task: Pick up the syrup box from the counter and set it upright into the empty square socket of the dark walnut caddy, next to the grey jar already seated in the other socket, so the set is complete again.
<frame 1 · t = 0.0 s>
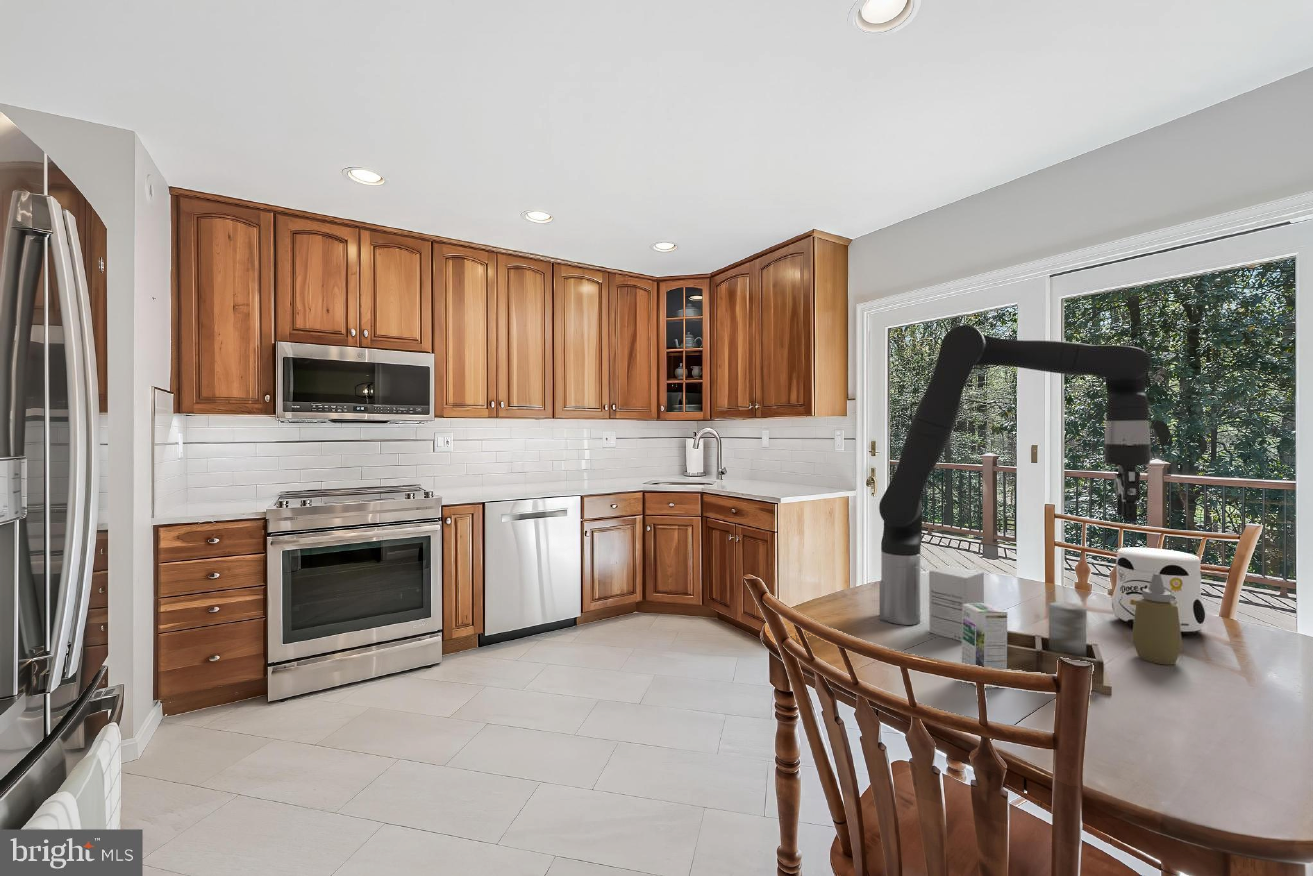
hand: (1126, 518, 124), 29 cm above the table, tool pointing down, fingers open, 8 cm apart
syrup box: (983, 683, 111), on the table
squeeze bottle: (1156, 660, 122), on the table
supplement box: (956, 634, 138), on the table
walnut caddy: (1038, 670, 117), on the table
milk container: (1156, 628, 141), on the table
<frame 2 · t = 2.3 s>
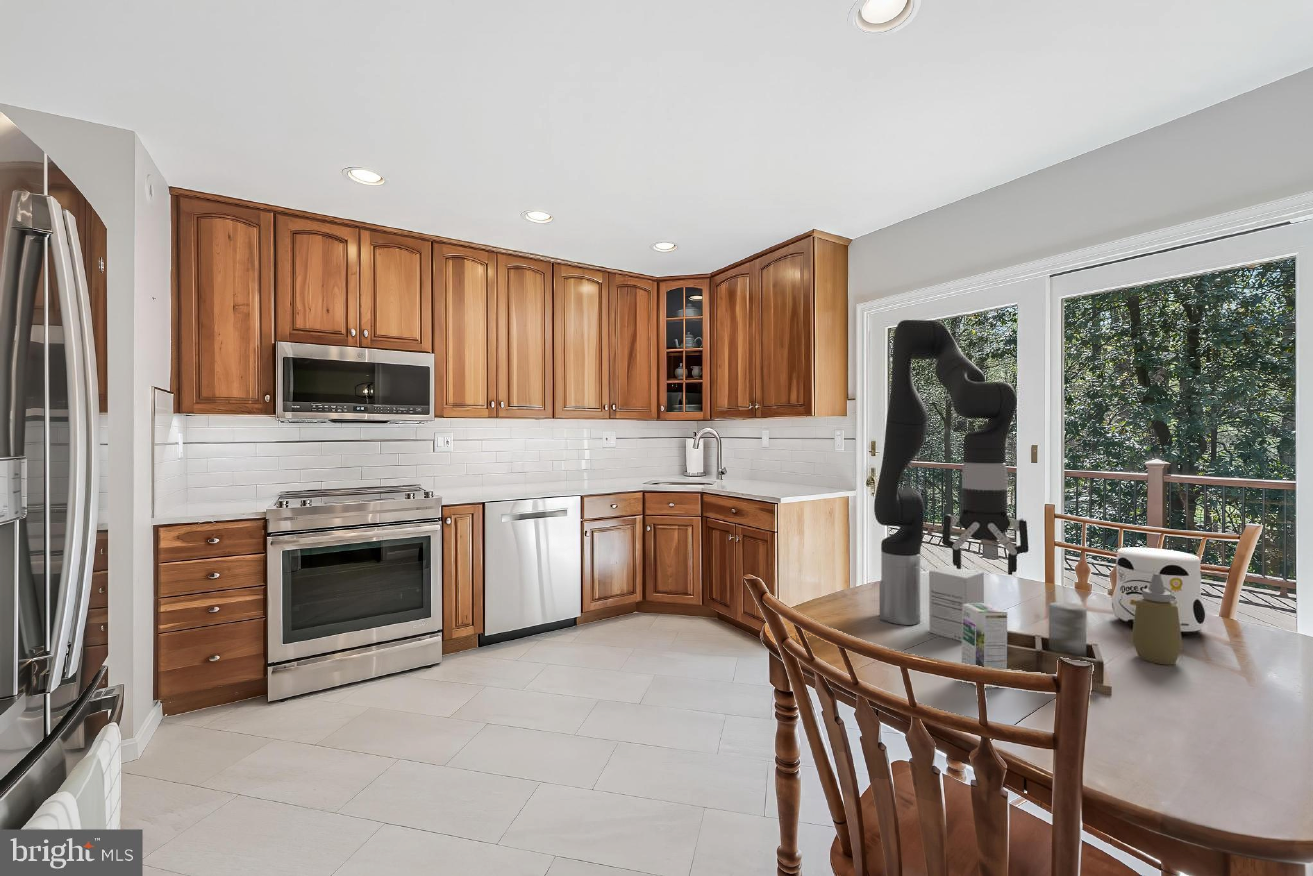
hand: (984, 571, 111), 21 cm above the table, tool pointing down, fingers open, 8 cm apart
nothing on the table moved.
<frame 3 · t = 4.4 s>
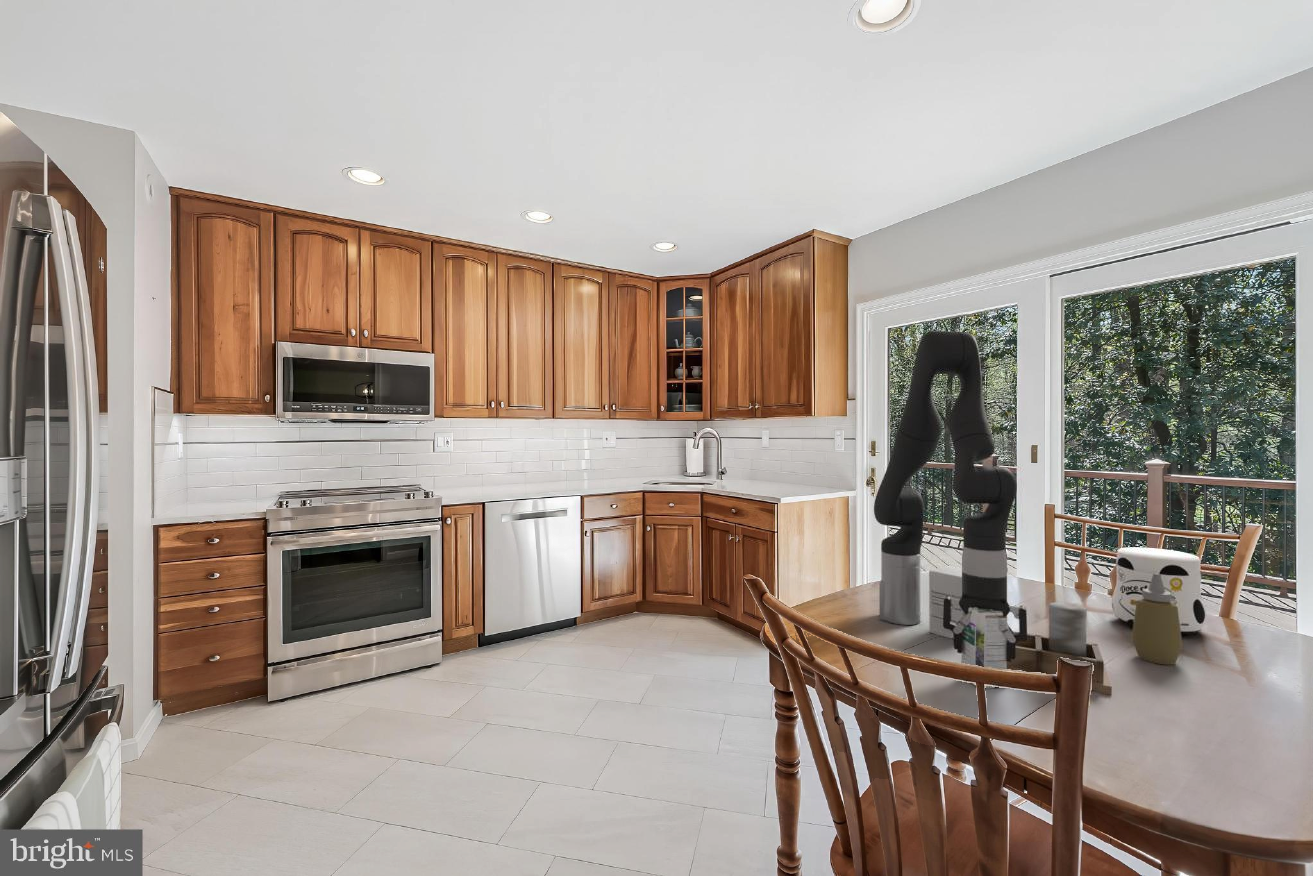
hand: (984, 656, 111), 5 cm above the table, tool pointing down, fingers closed on syrup box, 7 cm apart
syrup box: (983, 683, 111), on the table, touching gripper
everything else where it was.
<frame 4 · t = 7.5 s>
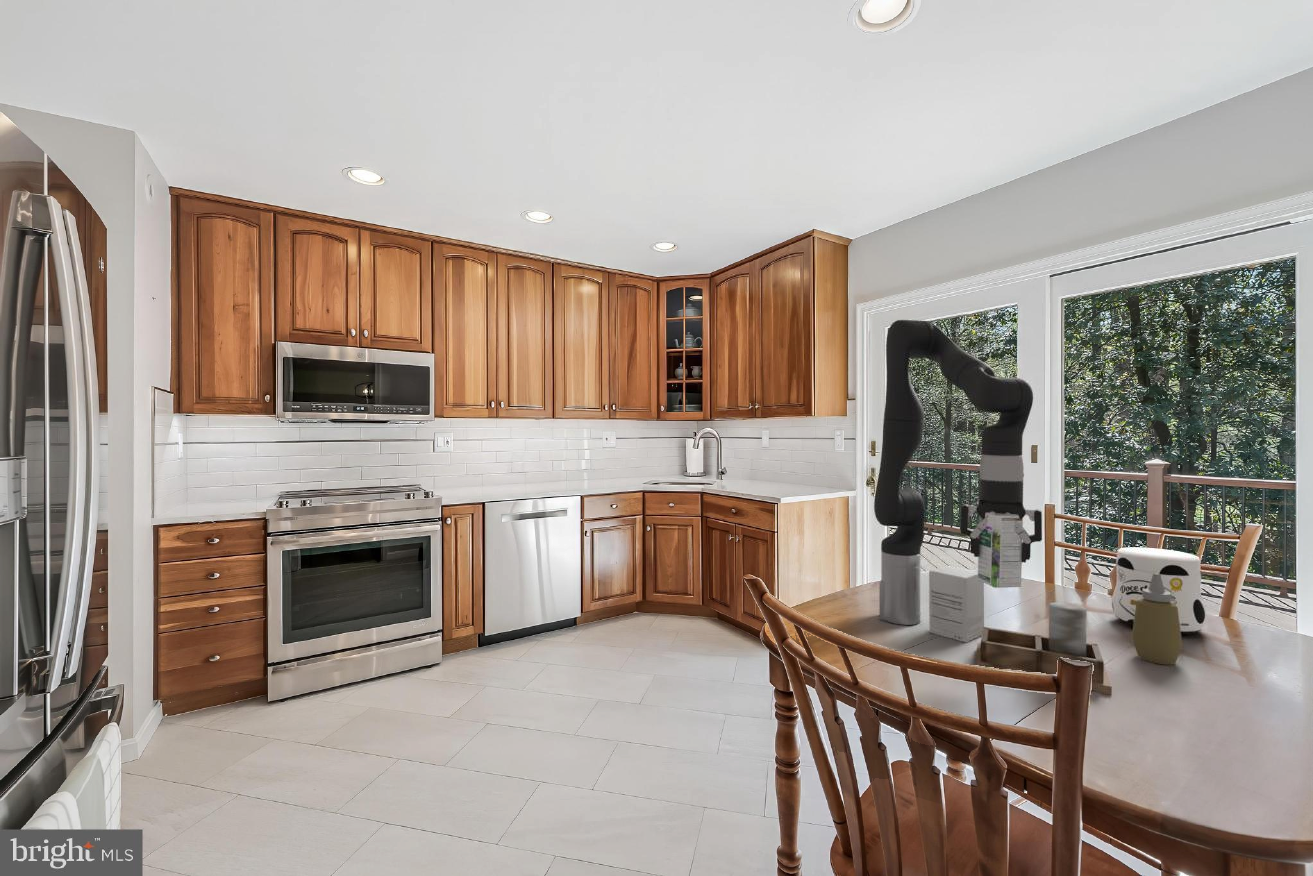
hand: (999, 558, 116), 22 cm above the table, tool pointing down, fingers closed on syrup box, 7 cm apart
syrup box: (999, 584, 117), point 17 cm above the table, touching gripper
everything else where it was.
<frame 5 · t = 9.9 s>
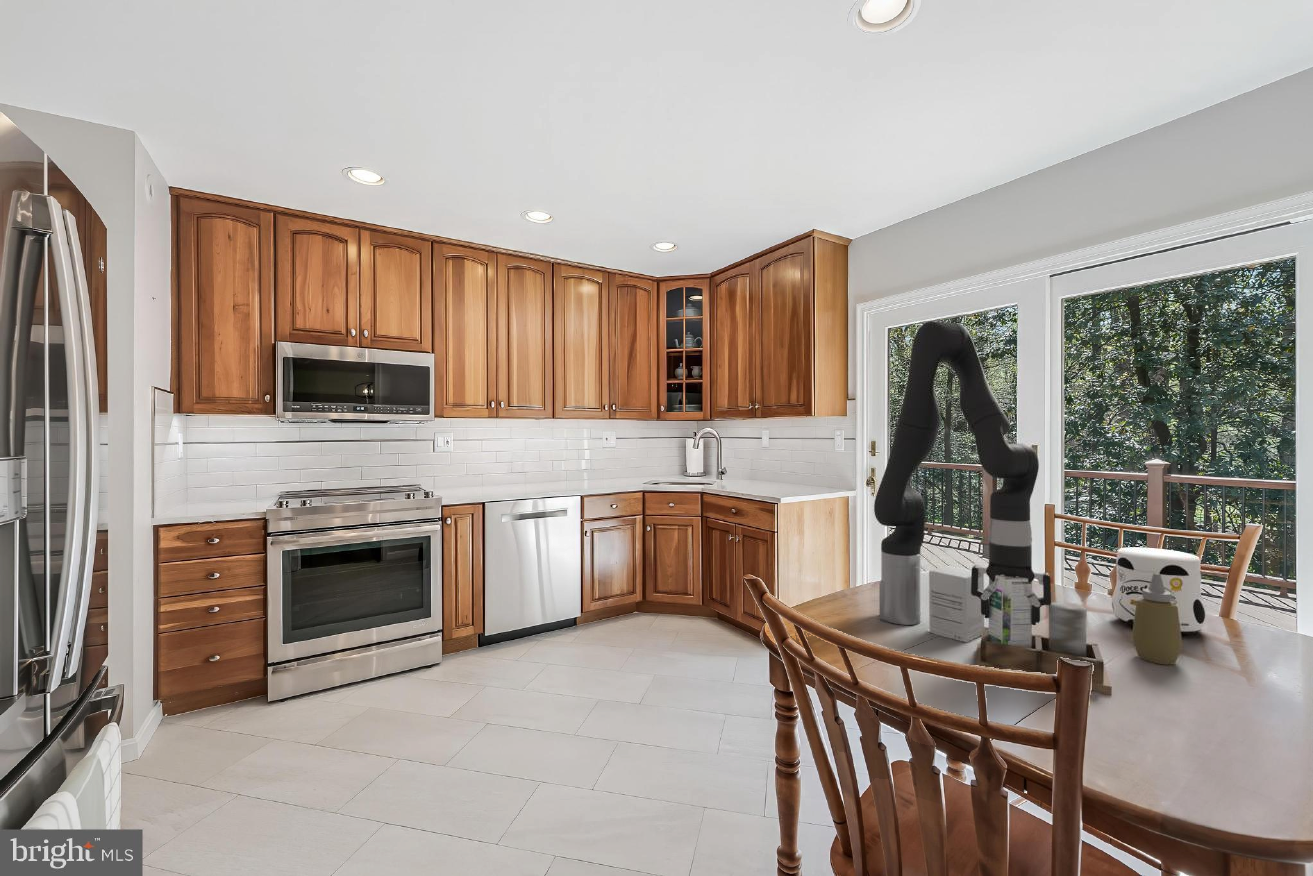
hand: (1009, 620, 119), 9 cm above the table, tool pointing down, fingers closed on syrup box, 7 cm apart
syrup box: (1009, 646, 119), point 4 cm above the table, touching gripper
everything else where it was.
when the fingers open (9 cm above the table, at t = 10.7 s): syrup box drops 2 cm, resting on walnut caddy.
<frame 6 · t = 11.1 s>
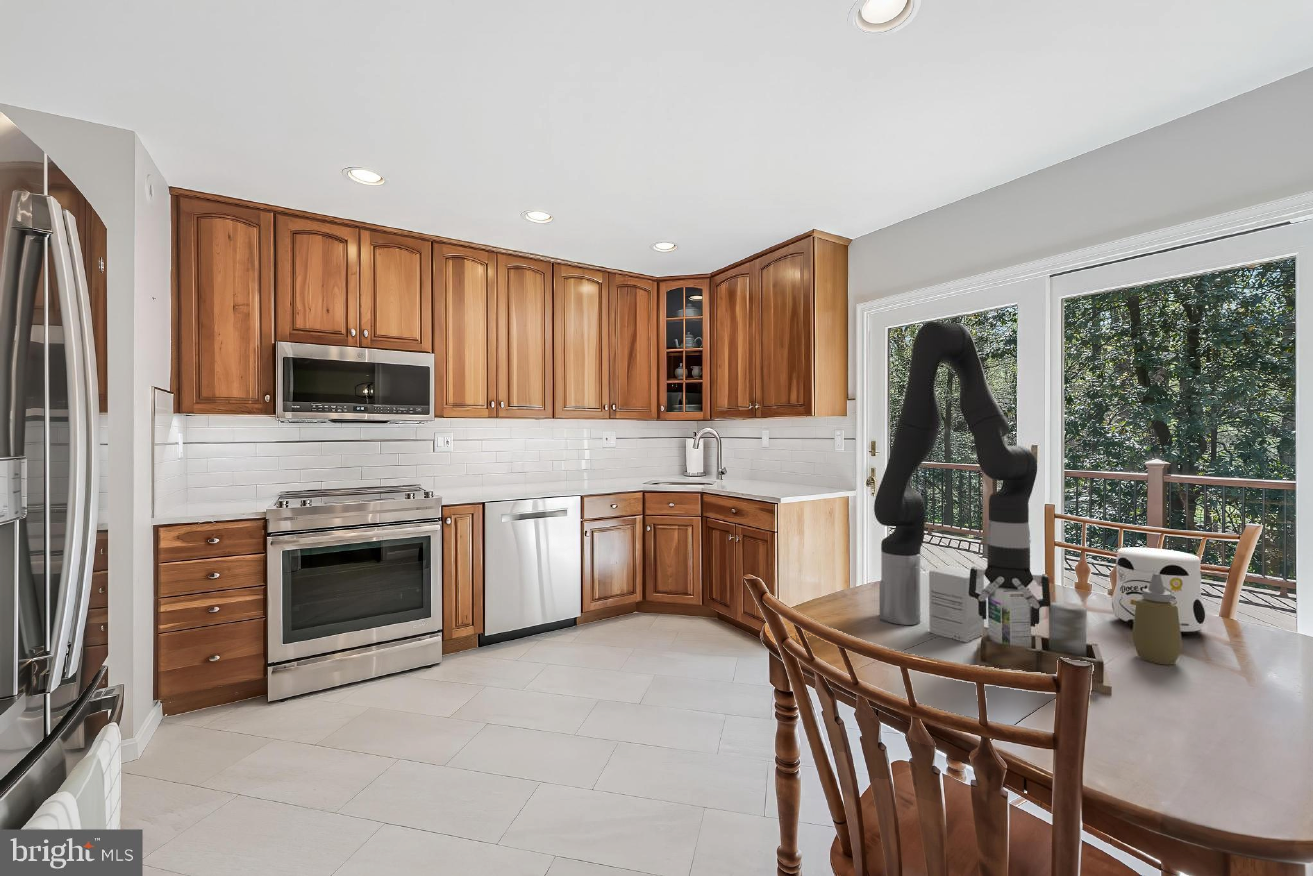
hand: (1008, 622, 119), 9 cm above the table, tool pointing down, fingers open, 8 cm apart
syrup box: (1010, 658, 119), point 1 cm above the table, touching gripper, walnut caddy
everything else where it was.
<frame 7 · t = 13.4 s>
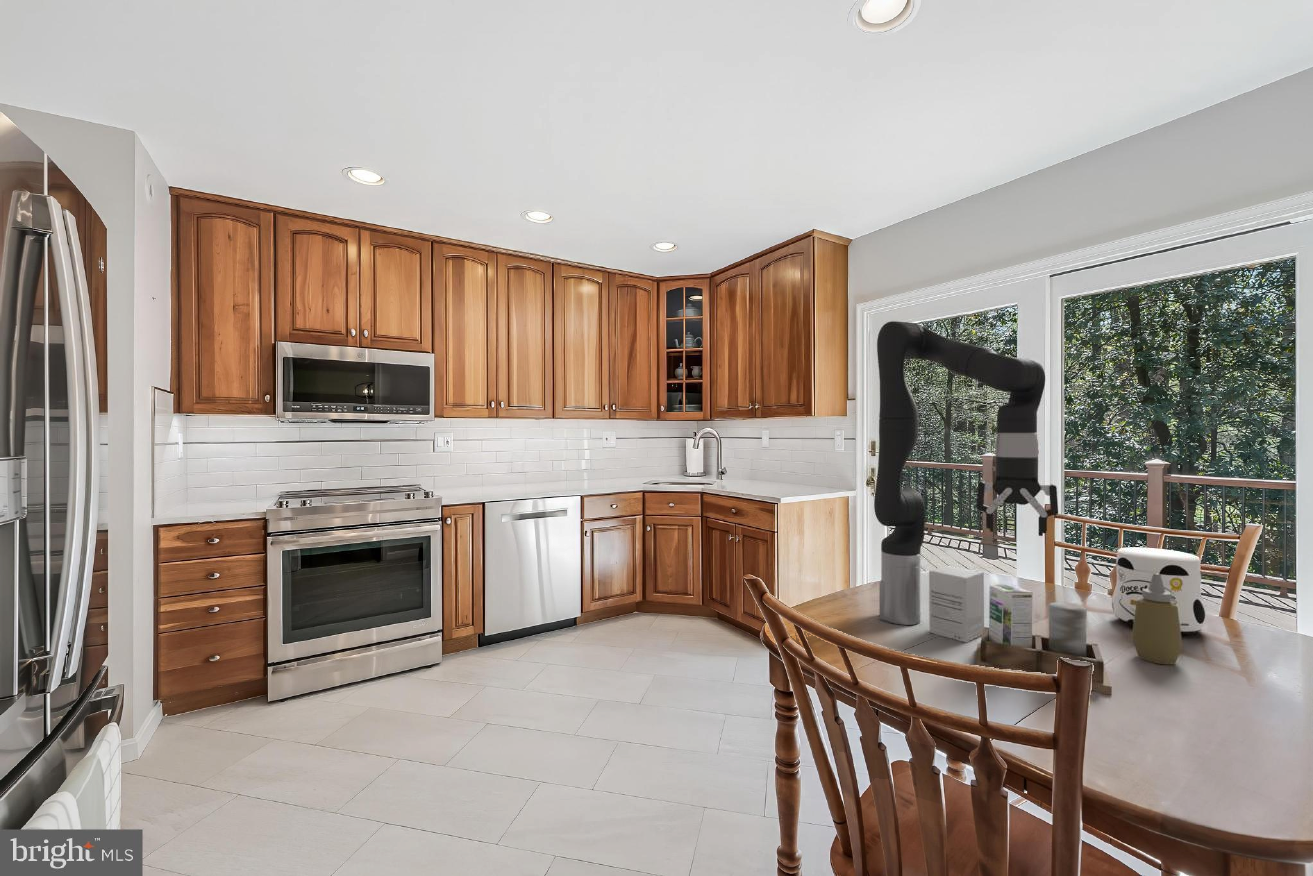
hand: (1015, 533, 120), 27 cm above the table, tool pointing down, fingers open, 8 cm apart
syrup box: (1009, 659, 119), point 1 cm above the table, touching walnut caddy
everything else where it was.
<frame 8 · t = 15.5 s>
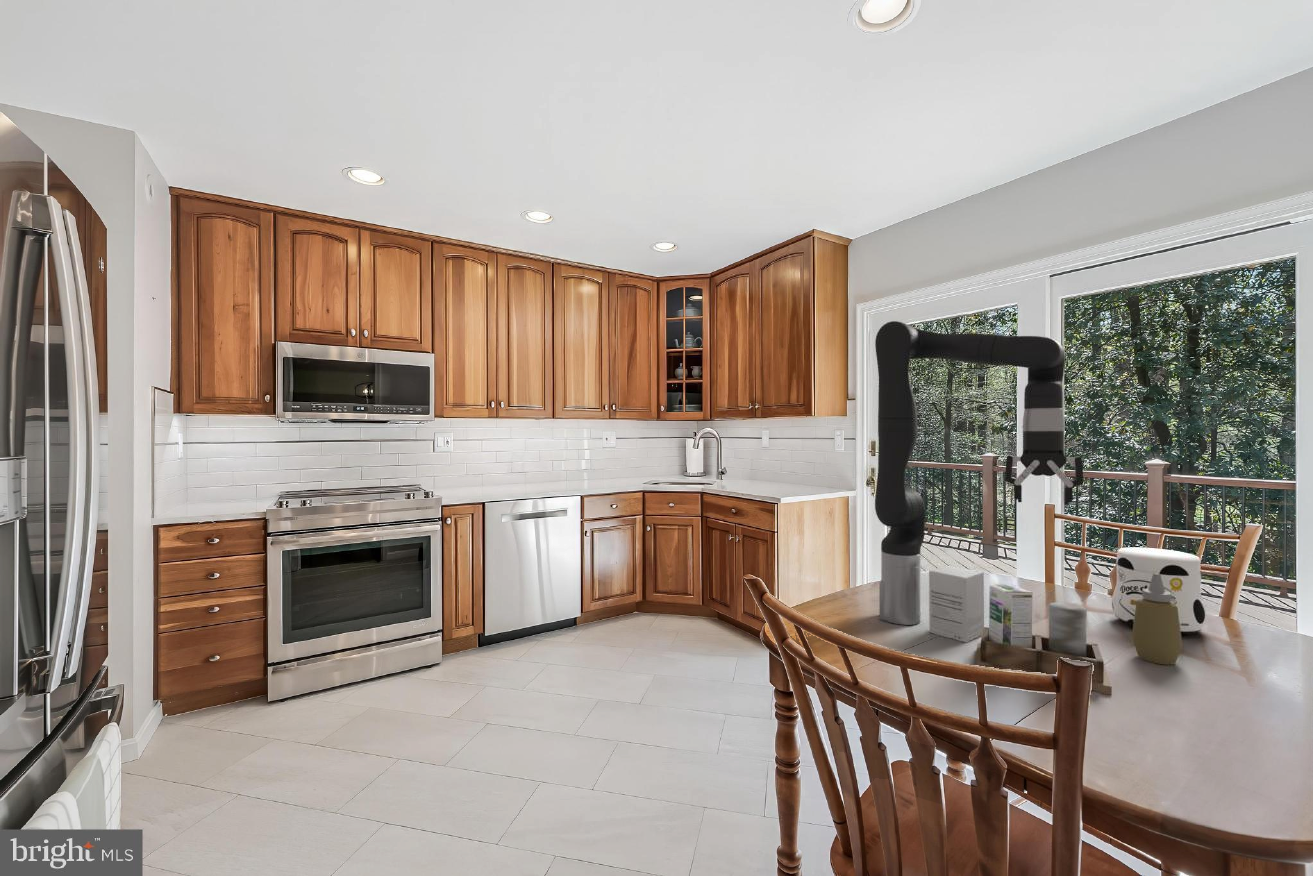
hand: (1042, 503, 128), 32 cm above the table, tool pointing down, fingers open, 8 cm apart
nothing on the table moved.
at the end: syrup box 0.3 cm from the target spot on the walnut caddy, point 1.3 cm above the walnut caddy's base; syrup box tilted 0°; the gripper is holding nothing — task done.
